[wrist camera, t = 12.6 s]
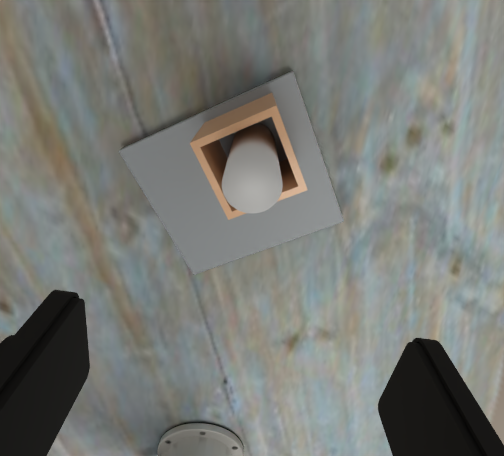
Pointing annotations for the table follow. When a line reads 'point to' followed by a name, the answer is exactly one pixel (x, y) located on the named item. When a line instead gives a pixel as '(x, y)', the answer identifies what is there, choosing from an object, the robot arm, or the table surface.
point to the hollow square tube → (233, 121)
